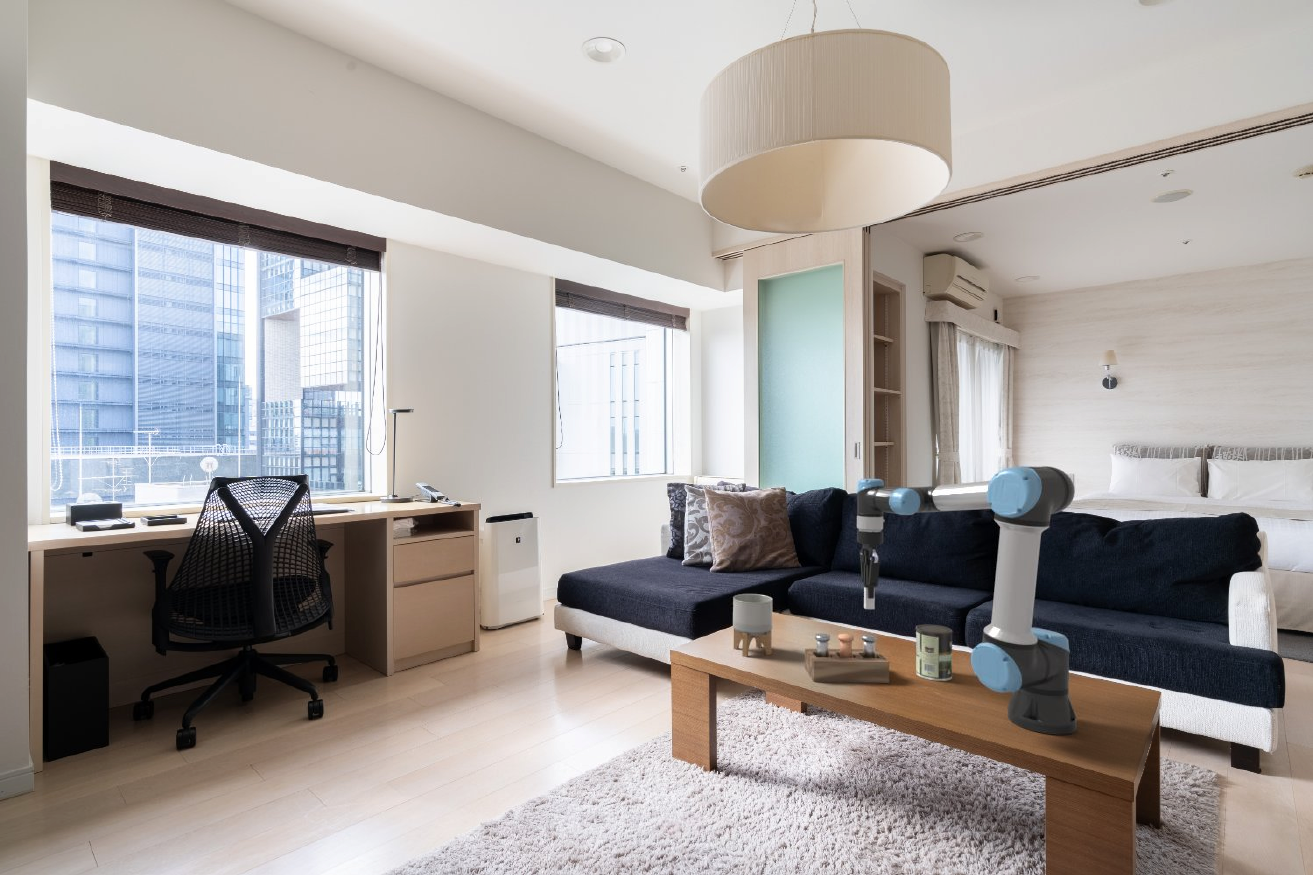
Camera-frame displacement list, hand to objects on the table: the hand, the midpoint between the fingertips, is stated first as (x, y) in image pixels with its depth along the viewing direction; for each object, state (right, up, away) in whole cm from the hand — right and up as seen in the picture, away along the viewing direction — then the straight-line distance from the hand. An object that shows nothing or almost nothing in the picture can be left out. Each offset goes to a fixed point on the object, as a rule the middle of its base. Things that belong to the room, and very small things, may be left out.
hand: (869, 608), depth 202 cm
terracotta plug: (-7, -16, 0) cm, 17 cm away
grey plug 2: (0, -16, 0) cm, 16 cm away
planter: (-32, -20, +22) cm, 44 cm away
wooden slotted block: (-7, -20, 0) cm, 21 cm away
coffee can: (+20, -21, +1) cm, 28 cm away
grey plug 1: (-14, -15, 0) cm, 21 cm away
